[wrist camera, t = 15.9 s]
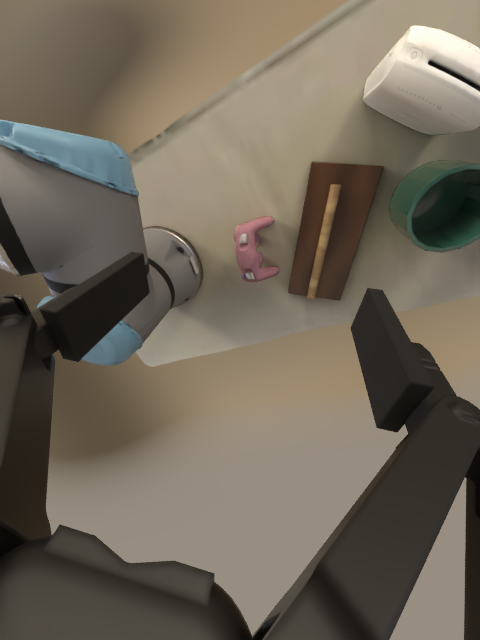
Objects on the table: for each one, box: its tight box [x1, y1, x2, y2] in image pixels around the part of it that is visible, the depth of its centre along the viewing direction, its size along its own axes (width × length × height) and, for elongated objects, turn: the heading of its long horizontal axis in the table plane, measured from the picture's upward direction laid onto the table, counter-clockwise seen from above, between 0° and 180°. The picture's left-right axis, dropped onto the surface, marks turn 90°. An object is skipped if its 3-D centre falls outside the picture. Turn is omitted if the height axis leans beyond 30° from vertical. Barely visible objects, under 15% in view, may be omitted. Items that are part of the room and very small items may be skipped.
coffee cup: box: [389, 160, 480, 252], centre depth 30 cm, size 9×9×8 cm
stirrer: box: [307, 184, 341, 300], centre depth 38 cm, size 1×13×13 cm
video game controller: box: [234, 217, 279, 282], centre depth 40 cm, size 10×5×7 cm, turn 10°
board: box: [288, 162, 383, 300], centre depth 38 cm, size 9×20×1 cm, turn 177°
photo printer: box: [362, 26, 480, 135], centre depth 23 cm, size 10×4×12 cm, turn 68°
